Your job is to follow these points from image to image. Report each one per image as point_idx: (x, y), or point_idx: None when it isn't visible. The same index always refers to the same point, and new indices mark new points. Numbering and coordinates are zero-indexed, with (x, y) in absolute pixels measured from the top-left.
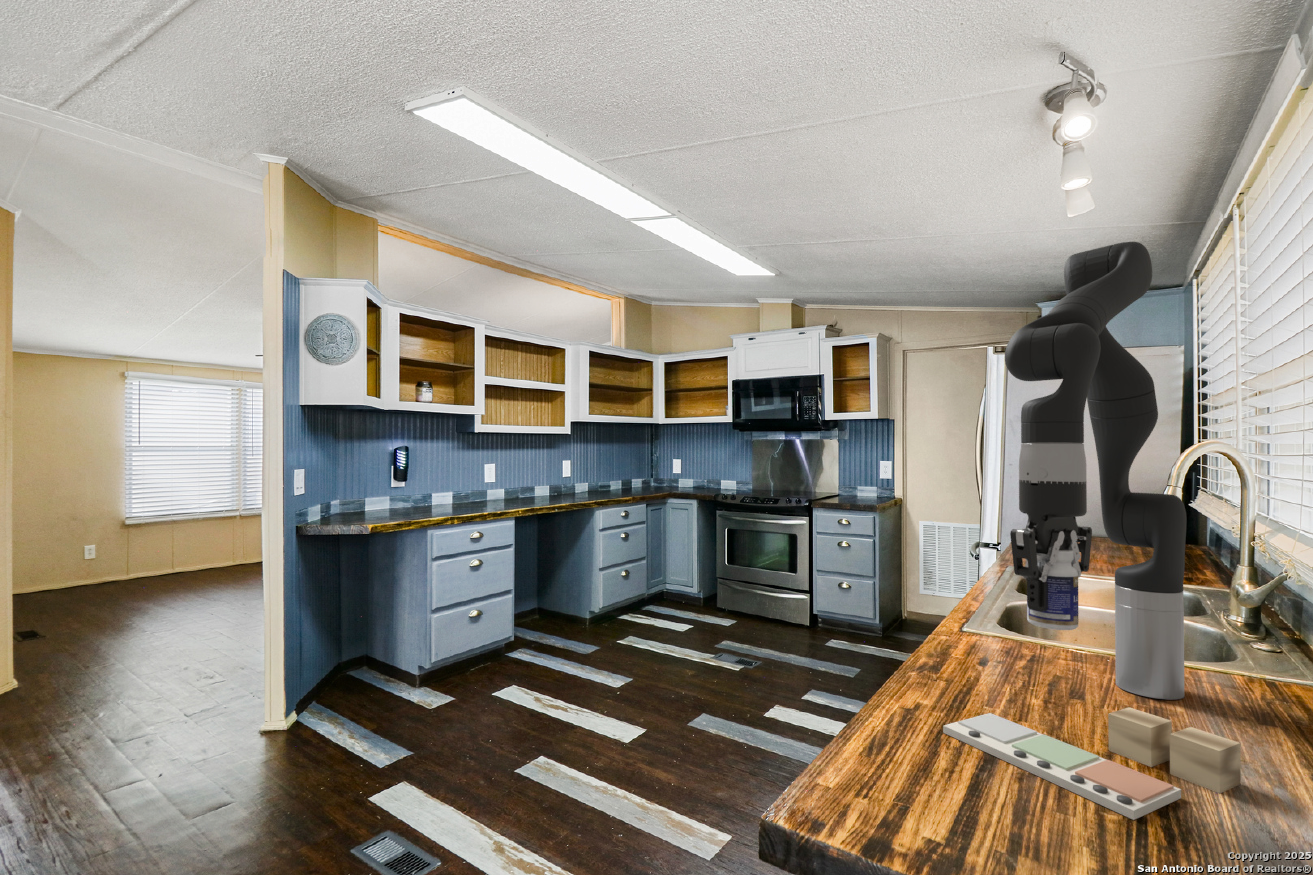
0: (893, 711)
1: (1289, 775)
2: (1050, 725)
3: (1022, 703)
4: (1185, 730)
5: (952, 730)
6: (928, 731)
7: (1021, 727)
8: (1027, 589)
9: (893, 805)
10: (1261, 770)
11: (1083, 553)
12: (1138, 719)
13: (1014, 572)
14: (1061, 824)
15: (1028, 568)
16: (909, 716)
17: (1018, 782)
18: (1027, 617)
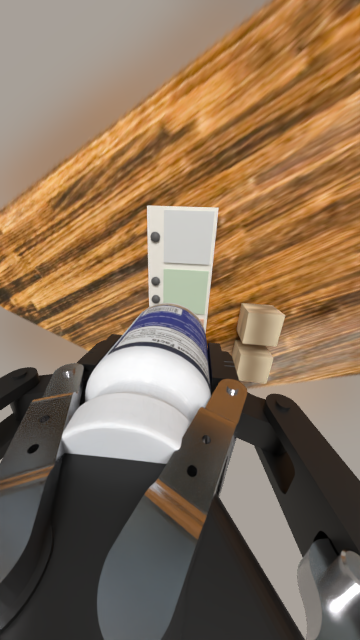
0: (144, 130)
1: (299, 377)
2: (257, 250)
3: (300, 195)
4: (260, 358)
5: (147, 218)
6: (138, 197)
7: (205, 252)
8: (83, 357)
9: (32, 271)
10: (294, 367)
11: (278, 497)
12: (255, 331)
13: (13, 371)
14: (111, 332)
15: (14, 413)
16: (149, 154)
17: (130, 295)
18: (143, 311)
